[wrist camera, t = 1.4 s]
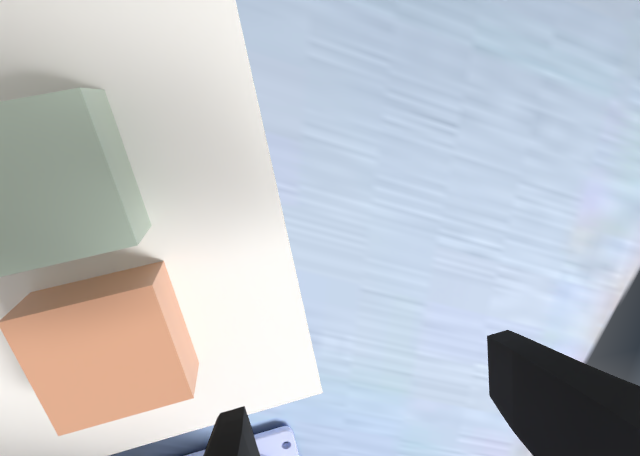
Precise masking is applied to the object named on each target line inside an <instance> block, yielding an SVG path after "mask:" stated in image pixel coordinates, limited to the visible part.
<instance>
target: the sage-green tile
mask: <svg viewBox="0 0 640 456" xmlns="http://www.w3.org/2000/svg"><path fill="white" fill-rule="evenodd" d="M151 226H152V225H151V222H150V219H149V216H148V214H147V211H146V208H145V205H144V202H143V199H142V196H141V193H140V190H139V188H138V185H137V182H136V179H135V176H134V173H133V170H132V167H131V165H130V162H129V159H128V156H127V153H126V150H125V147H124V144H123V142H122V139H121V136H120V133H119V130H118V127H117V124H116V121H115V118H114V116H113V113H112V110H111V107H110V104H109V101H108V98H107V95H106V93H105V90H103V89H91V88H75V89H69V90H63V91H58V92H52V93H46V94H41V95H35V96H29V97H24V98H18V99H13V100H7V101H1V102H0V277H3V276H7V275H11V274H16V273H20V272H24V271H29V270H33V269H37V268H42V267H46V266H50V265H55V264H59V263H63V262H68V261H72V260H77V259H81V258H85V257H90V256H94V255H98V254H103V253H107V252H111V251H116V250H120V249H124V248H129V247H133V246H138V244H139V243H140V242H141V240H142V239H143V237H144V236H145V234H146V233H147V232H148V230H149V229H150V227H151Z"/></svg>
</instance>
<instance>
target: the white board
mask: <svg viewBox="0 0 640 456" xmlns="http://www.w3.org/2000/svg"><path fill="white" fill-rule="evenodd" d="M75 88H91V89H103V90H105V93H106V95H107V98H108V101H109V104H110V107H111V110H112V113H113V116H114V118H115V121H116V124H117V127H118V130H119V133H120V136H121V139H122V142H123V144H124V147H125V150H126V153H127V156H128V159H129V162H130V165H131V167H132V170H133V173H134V176H135V179H136V182H137V185H138V188H139V190H140V193H141V196H142V199H143V202H144V205H145V208H146V211H147V214H148V216H149V219H150V222H151V225H152V226H151V227H150V229H149V230H148V232H147V233H146V234H145V236H144V237H143V239H142V240H141V242H140V243H139V244H138V246H133V247H129V248H124V249H120V250H116V251H111V252H107V253H103V254H98V255H94V256H90V257H85V258H81V259H77V260H72V261H68V262H63V263H59V264H55V265H50V266H46V267H42V268H37V269H33V270H29V271H24V272H20V273H16V274H11V275H7V276H3V277H0V320H1V319H2V318H3V317H4V316H5V315H6V314H7V313H8V312H10V311H11V310H12V309H13V308H14V307H15V306H16V305H17V304H18V303H19V302H20V301H22V300H23V299H24V298H25V297H26V296H27V295H28V294H29V293H30V292H34V291H38V290H42V289H46V288H51V287H55V286H59V285H63V284H67V283H72V282H76V281H80V280H84V279H89V278H93V277H97V276H101V275H106V274H110V273H114V272H118V271H123V270H127V269H131V268H135V267H139V266H144V265H148V264H152V263H156V262H161V261H164V263H165V265H166V268H167V271H168V274H169V277H170V280H171V283H172V286H173V288H174V291H175V294H176V297H177V300H178V303H179V306H180V309H181V312H182V314H183V317H184V320H185V323H186V326H187V329H188V332H189V335H190V337H191V340H192V343H193V346H194V349H195V352H196V355H197V358H198V360H199V368H198V374H197V380H196V387H195V393H194V398H193V399H189V400H186V401H182V402H178V403H175V404H171V405H168V406H164V407H161V408H157V409H154V410H150V411H146V412H143V413H139V414H136V415H132V416H129V417H125V418H122V419H118V420H115V421H111V422H107V423H104V424H100V425H97V426H93V427H90V428H86V429H83V430H79V431H75V432H72V433H68V434H65V435H61V436H58V435H57V433H56V431H55V429H54V427H53V425H52V424H51V422H50V420H49V418H48V416H47V414H46V412H45V411H44V409H43V407H42V405H41V403H40V401H39V399H38V398H37V396H36V394H35V392H34V390H33V388H32V386H31V385H30V383H29V381H28V379H27V377H26V375H25V373H24V372H23V370H22V368H21V366H20V364H19V362H18V360H17V359H16V357H15V355H14V353H13V351H12V349H11V348H10V346H9V344H8V342H7V340H6V338H5V336H4V335H3V333H2V331H1V329H0V456H109V455H112V454H115V453H119V452H122V451H126V450H129V449H133V448H136V447H139V446H143V445H146V444H150V443H153V442H157V441H160V440H163V439H167V438H170V437H174V436H177V435H180V434H184V433H187V432H191V431H194V430H198V429H201V428H204V427H208V426H211V425H215V422H216V419H217V417H218V416H219V414H220V413H222V412H226V411H229V410H233V409H236V408H239V407H243V406H245V409H246V412H247V415H249V414H252V413H256V412H259V411H263V410H266V409H270V408H273V407H276V406H280V405H283V404H287V403H290V402H293V401H297V400H300V399H304V398H307V397H311V396H314V395H317V394H321V393H323V392H322V387H321V383H320V378H319V374H318V369H317V365H316V360H315V356H314V351H313V347H312V342H311V338H310V333H309V329H308V324H307V320H306V315H305V311H304V306H303V302H302V297H301V293H300V288H299V284H298V279H297V275H296V270H295V266H294V261H293V257H292V252H291V248H290V243H289V239H288V234H287V230H286V225H285V221H284V216H283V212H282V208H281V203H280V199H279V194H278V190H277V185H276V181H275V176H274V172H273V167H272V163H271V158H270V154H269V149H268V145H267V140H266V136H265V131H264V127H263V122H262V118H261V113H260V109H259V104H258V100H257V95H256V91H255V86H254V82H253V77H252V73H251V68H250V64H249V59H248V55H247V50H246V46H245V41H244V37H243V32H242V28H241V23H240V19H239V14H238V10H237V5H236V1H235V0H0V102H1V101H7V100H13V99H18V98H24V97H29V96H35V95H41V94H46V93H52V92H58V91H63V90H69V89H75Z"/></svg>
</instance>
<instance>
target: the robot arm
mask: <svg viewBox="0 0 640 456" xmlns="http://www.w3.org/2000/svg"><path fill="white" fill-rule="evenodd" d="M487 342H488V368H489V393H490V397H491V399H492V400H493V402H494V403H495V405H496V406H497V408H498V409H499V411H500V413H501V414H502V416H503V417H504V419H505V420H506V422H507V423H508V424H509V426H510V427H511V429H512V430H513V432H514V433H515V434H516V435H517V437H518V438H519V439H520V440H521V442H522V443H523V444H524V445H525V446H526V448H527V449H528V450H529V451H530V452H531V454H532V455H533V456H640V386H638V385H635V384H632V383H630V382H627V381H625V380H622V379H620V378H617V377H615V376H613V375H610V374H608V373H605V372H603V371H601V370H598V369H596V368H593V367H591V366H589V365H587V364H584V363H582V362H580V361H577V360H575V359H573V358H571V357H568V356H566V355H564V354H562V353H559V352H557V351H555V350H553V349H551V348H548V347H546V346H544V345H542V344H539V343H537V342H535V341H533V340H531V339H528V338H526V337H524V336H521V335H519V334H517V333H514V332H512V331H509V330H506V331H503V332H499V333H496V334H492V335H489V336H487ZM287 441H288V442H287ZM284 442H287V443H284ZM185 456H299V453H298V449H297V445H296V442H295V438H294V434H293V431H292V429H291V428H290V427H288V426H282V427H279V428H275V429H272V430H269V431H265V432H262V433H258V434H255V435H254V434H253V431H252V428H251V425H250V421H249V418H248V415H247V412H246V409H245V406H243V407H239V408H236V409H233V410H229V411H226V412H222V413H220V414H219V416H218V417H217V419H216V422H215V425H214V428H213V431H212V434H211V436H210V439H209V442H208V444H207V447H206V449H205V450H202V451H198V452H195V453H192V454H188V455H185Z"/></svg>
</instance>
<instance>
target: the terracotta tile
mask: <svg viewBox="0 0 640 456" xmlns="http://www.w3.org/2000/svg"><path fill="white" fill-rule="evenodd" d="M0 329H1V331H2V333H3V335H4V336H5V338H6V340H7V342H8V344H9V346H10V348H11V349H12V351H13V353H14V355H15V357H16V359H17V360H18V362H19V364H20V366H21V368H22V370H23V372H24V373H25V375H26V377H27V379H28V381H29V383H30V385H31V386H32V388H33V390H34V392H35V394H36V396H37V398H38V399H39V401H40V403H41V405H42V407H43V409H44V411H45V412H46V414H47V416H48V418H49V420H50V422H51V424H52V425H53V427H54V429H55V431H56V433H57V435H58V436H61V435H65V434H68V433H72V432H75V431H79V430H83V429H86V428H90V427H93V426H97V425H100V424H104V423H107V422H111V421H115V420H118V419H122V418H125V417H129V416H132V415H136V414H139V413H143V412H146V411H150V410H154V409H157V408H161V407H164V406H168V405H171V404H175V403H178V402H182V401H186V400H189V399H193V398H194V393H195V387H196V380H197V374H198V368H199V360H198V358H197V355H196V352H195V349H194V346H193V343H192V340H191V337H190V335H189V332H188V329H187V326H186V323H185V320H184V317H183V314H182V312H181V309H180V306H179V303H178V300H177V297H176V294H175V291H174V288H173V286H172V283H171V280H170V277H169V274H168V271H167V268H166V265H165V263H164V261H161V262H156V263H152V264H148V265H144V266H139V267H135V268H131V269H127V270H123V271H118V272H114V273H110V274H106V275H101V276H97V277H93V278H89V279H84V280H80V281H76V282H72V283H67V284H63V285H59V286H55V287H51V288H46V289H42V290H38V291H34V292H30V293H29V294H28V295H27V296H26V297H25V298H24V299H23V300H22V301H20V302H19V303H18V304H17V305H16V306H15V307H14V308H13V309H12V310H11V311H10V312H8V313H7V314H6V315H5V316H4V317H3V318H2V319H1V320H0Z"/></svg>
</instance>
